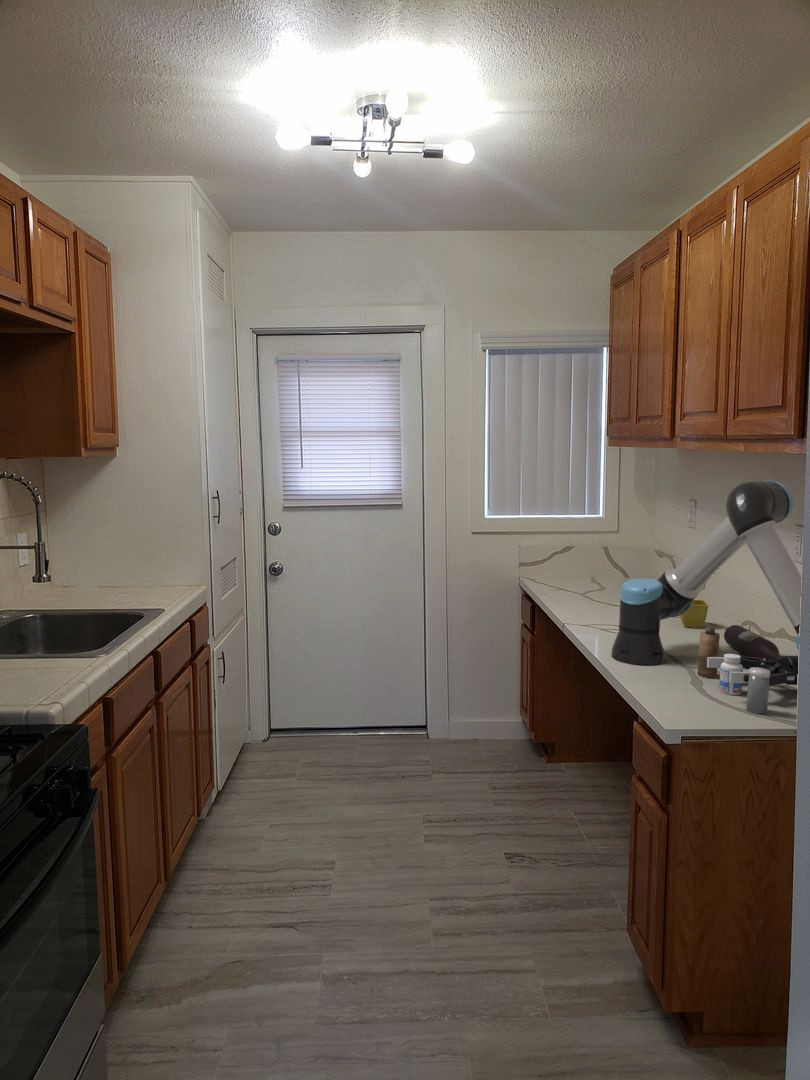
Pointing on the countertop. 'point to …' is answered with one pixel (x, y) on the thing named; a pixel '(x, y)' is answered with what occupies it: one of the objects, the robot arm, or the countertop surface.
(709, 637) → the walnut pepper mill
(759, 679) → the charcoal salt shaker
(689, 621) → the flower pot
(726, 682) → the pill bottle
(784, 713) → the countertop surface
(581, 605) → the countertop surface
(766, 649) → the wine bottle
